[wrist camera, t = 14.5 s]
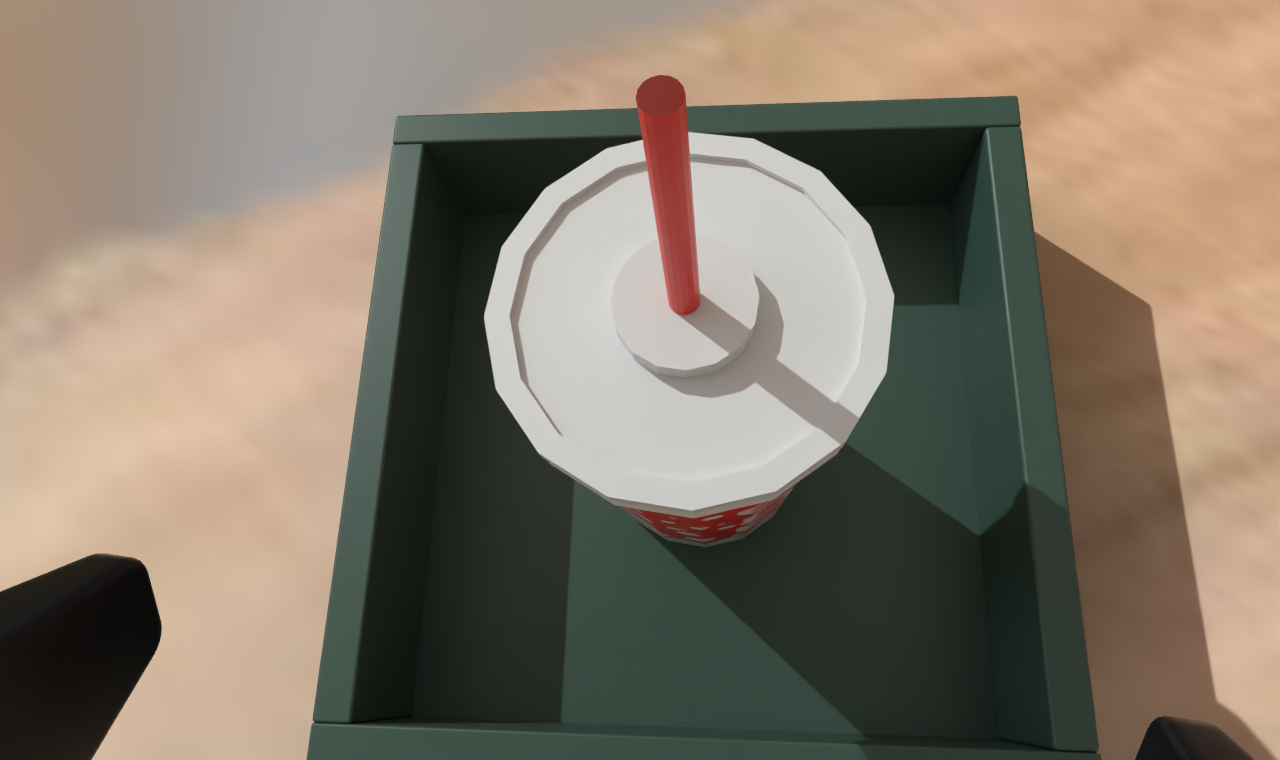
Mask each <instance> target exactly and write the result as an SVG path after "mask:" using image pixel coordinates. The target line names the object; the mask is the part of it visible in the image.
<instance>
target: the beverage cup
mask: <svg viewBox="0 0 1280 760" xmlns="http://www.w3.org/2000/svg"><path fill="white" fill-rule="evenodd" d="M636 101H637V108H638V114H639V120H640V126H641V133H642V139H643V140H640V141H636V142H632V143H627V144H623V145H619V146H615V147H611V148H607V149H605V150H604V151H602V152H600V153H599V154H597V155H596V156H594V157H593V158H591V159H590V160H588V161H587V162H585V163H583V164H582V165H580V166H579V167H577V168H576V169H574V170H573V171H571V172H570V173H568V174H566V175H565V176H563V177H562V178H560V179H559V180H557V181H556V182H554V183H553V184H551V185H549V186H548V187H546V188H545V189H544V190H543V192H542V193H541V194H540V196H539V197H538V198H537V200H536V201H535V202H534V204H533V205H532V207H531V208H530V209H529V211H528V212H527V213H526V215H525V216H524V217H523V219H522V220H521V221H520V223H519V224H518V225H517V227H516V228H515V229H514V231H513V232H512V233H511V235H510V236H509V238H508V239H507V240H506V242H505V243H504V244H503V246H502V247H501V251H500V255H499V259H498V263H497V267H496V271H495V275H494V279H493V283H492V286H491V290H490V294H489V298H488V302H487V306H486V310H485V314H484V321H485V327H486V333H487V339H488V345H489V351H490V357H491V364H492V370H493V376H494V382H495V388H496V390H497V392H498V393H499V395H500V396H501V398H502V399H503V401H504V402H505V404H506V405H507V407H508V408H509V410H510V411H511V413H512V414H513V416H514V417H515V419H516V420H517V422H518V423H519V425H520V426H521V428H522V429H523V431H524V432H525V434H526V435H527V437H528V438H529V440H530V441H531V443H532V444H533V446H534V447H535V449H536V450H537V452H538V453H539V454H540V455H541V457H542V458H544V459H545V460H547V461H548V462H549V463H550V464H551V465H552V466H554V467H555V468H557V469H559V470H560V471H562V472H563V473H565V474H566V475H568V476H570V477H571V478H573V479H574V480H576V481H577V482H579V483H581V484H582V485H584V486H585V487H587V488H589V489H590V490H592V491H593V492H595V493H596V494H598V495H600V496H601V497H603V498H604V499H606V500H607V501H609V502H611V503H612V504H614V505H616V506H621V507H622V508H623V509H624V510H625V511H626V512H627V513H629V514H630V515H631V516H632V517H633V518H634V519H635V520H636V521H638V522H639V523H641V524H642V525H644V526H645V527H647V528H649V529H650V530H652V531H653V532H655V533H657V534H658V535H660V536H661V537H663V538H664V539H666V540H668V541H672V542H677V543H683V544H689V545H695V546H701V547H709V546H713V545H718V544H722V543H727V542H731V541H735V540H740V539H743V538H744V537H746V536H747V535H749V534H750V533H751V532H753V531H754V530H756V529H757V528H758V527H760V526H761V525H762V524H764V523H765V522H767V521H768V520H769V519H771V518H772V517H773V516H774V515H775V513H776V512H777V510H778V509H779V508H780V506H781V505H782V503H783V502H784V500H785V499H786V498H787V496H788V495H789V493H790V492H791V490H792V489H793V488H794V486H795V485H796V483H798V482H799V481H800V480H802V479H803V478H804V477H806V476H807V475H809V474H810V473H811V472H813V471H814V470H816V469H817V468H818V467H820V466H821V465H823V464H824V463H825V462H827V461H828V460H830V459H831V458H832V457H834V456H835V455H837V453H838V452H839V450H840V448H842V447H843V446H844V444H845V442H846V441H847V439H848V437H849V436H850V434H851V432H852V430H853V429H854V427H855V425H856V424H857V422H858V420H859V419H860V417H861V415H862V414H863V412H864V410H865V409H866V407H867V405H868V403H869V402H870V400H871V398H872V397H873V395H874V393H875V392H876V390H877V388H878V387H879V385H880V383H881V382H882V380H883V378H884V376H885V374H886V372H887V363H888V353H889V343H890V334H891V324H892V314H893V305H894V293H893V290H892V287H891V285H890V282H889V279H888V276H887V273H886V270H885V267H884V264H883V261H882V258H881V255H880V252H879V250H878V247H877V244H876V241H875V238H874V235H873V232H872V229H871V226H870V225H869V224H868V223H867V221H866V220H865V219H864V218H863V217H862V216H861V215H860V214H859V213H858V212H857V211H856V209H855V208H854V207H853V206H852V205H851V204H850V203H849V202H848V201H847V200H846V199H845V197H844V196H843V195H842V194H841V193H840V192H839V191H838V190H837V189H836V188H835V186H834V185H833V184H832V183H831V182H830V181H829V180H828V179H827V178H826V177H825V176H824V174H823V173H822V172H821V171H819V170H817V169H815V168H813V167H811V166H809V165H807V164H805V163H803V162H801V161H799V160H796V159H794V158H792V157H790V156H788V155H786V154H784V153H782V152H780V151H778V150H776V149H774V148H772V147H770V146H768V145H766V144H763V143H761V142H759V141H757V140H755V139H752V138H742V137H732V136H722V135H713V134H703V133H693V132H688V124H687V110H686V97H685V91H684V87H683V85H682V84H681V83H680V82H679V81H678V80H677V79H675V78H673V77H671V76H664V75H658V76H654V77H650V78H649V79H647V80H646V81H644V82H643V83H642V84H641V86H640V87H639V88H638V90H637V95H636Z"/></svg>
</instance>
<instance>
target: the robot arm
mask: <svg viewBox="0 0 1280 760" xmlns="http://www.w3.org/2000/svg"><path fill="white" fill-rule="evenodd" d="M161 628H162V625H161V620H160V616H159V612H158V609H157V605H156V601H155V597H154V593H153V590H152V586H151V582H150V578H149V575H148V571H147V569H146V567H145V566H144V565H143V563H142V562H141V561H140V560H137V559H135V558H131V557H125V556H118V555H112V554H93V555H90V556H87V557H85V558H82V559H80V560H77V561H75V562H72V563H70V564H67V565H65V566H63V567H60V568H58V569H55V570H53V571H50V572H48V573H45V574H43V575H40V576H38V577H35V578H33V579H31V580H28V581H26V582H23V583H21V584H18V585H16V586H13V587H11V588H8V589H6V590H3V591H1V592H0V760H92V758H93V756H94V755H95V753H96V751H97V750H98V748H99V746H100V745H101V743H102V741H103V740H104V738H105V736H106V734H107V733H108V731H109V729H110V728H111V726H112V724H113V723H114V721H115V719H116V718H117V716H118V714H119V713H120V711H121V709H122V708H123V706H124V704H125V702H126V701H127V699H128V697H129V696H130V694H131V692H132V691H133V689H134V687H135V686H136V684H137V682H138V681H139V679H140V677H141V676H142V674H143V672H144V671H145V669H146V667H147V665H148V664H149V662H150V660H151V659H152V657H153V655H154V654H155V652H156V650H157V647H158V644H159V642H160V637H161ZM1135 760H1255V759H1253V758H1252V757H1251V756H1250V755H1249V754H1248V753H1247V752H1246V751H1244V750H1243V749H1242V748H1241V747H1240V746H1239V745H1238V744H1237V743H1235V742H1234V741H1233V740H1232V739H1231V738H1230V737H1229V736H1228V735H1226V734H1225V733H1224V732H1223V731H1221V730H1220V729H1219V728H1218V727H1216V726H1214V725H1212V724H1209V723H1206V722H1201V721H1194V720H1188V719H1181V718H1175V717H1168V716H1164V717H1158V718H1156V719H1155V720H1154V721H1153V722H1152V723H1151V724H1150V726H1149V728H1148V730H1147V732H1146V735H1145V737H1144V739H1143V742H1142V744H1141V747H1140V749H1139V752H1138V754H1137V756H1136V759H1135Z"/></svg>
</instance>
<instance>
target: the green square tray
mask: <svg viewBox="0 0 1280 760" xmlns="http://www.w3.org/2000/svg"><path fill="white" fill-rule="evenodd" d="M686 110H687V124H688V132H693V133H703V134H713V135H722V136H732V137H742V138H752V139H755V140H757V141H759V142H761V143H763V144H766V145H768V146H770V147H772V148H774V149H776V150H778V151H780V152H782V153H784V154H786V155H788V156H790V157H792V158H794V159H796V160H799V161H801V162H803V163H805V164H807V165H809V166H811V167H813V168H815V169H817V170H819V171H821V172H822V173H823V174H824V176H825V177H826V178H827V179H828V180H829V181H830V182H831V183H832V184H833V185H834V186H835V188H836V189H837V190H838V191H839V192H840V193H841V194H842V195H843V196H844V197H845V199H846V200H847V201H848V202H849V203H850V204H851V205H852V206H853V207H854V208H855V209H856V211H857V212H858V213H859V214H860V215H861V216H862V217H863V218H864V219H865V220H866V221H867V223H868V224H869V225H870V226H871V229H872V232H873V235H874V238H875V241H876V244H877V247H878V250H879V252H880V255H881V258H882V261H883V264H884V267H885V270H886V273H887V276H888V279H889V282H890V285H891V287H892V290H893V293H894V305H893V314H892V324H891V334H890V343H889V353H888V363H887V372H886V374H885V376H884V378H883V380H882V382H881V383H880V385H879V387H878V388H877V390H876V392H875V393H874V395H873V397H872V398H871V400H870V402H869V403H868V405H867V407H866V409H865V410H864V412H863V414H862V415H861V417H860V419H859V420H858V422H857V424H856V425H855V427H854V429H853V430H852V432H851V434H850V436H849V437H848V439H847V441H846V442H845V444H844V446H843V447H842V448H840V450H839V452H838V453H837V455H835V456H834V457H832V458H831V459H830V460H828V461H827V462H825V463H824V464H823V465H821V466H820V467H818V468H817V469H816V470H814V471H813V472H811V473H810V474H809V475H807V476H806V477H804V478H803V479H802V480H800V481H799V482H798V483H796V485H795V486H794V488H793V489H792V490H791V492H790V493H789V495H788V496H787V498H786V499H785V500H784V502H783V503H782V505H781V506H780V508H779V509H778V510H777V512H776V513H775V515H774V516H773V517H772V518H771V519H769V520H768V521H767V522H765V523H764V524H762V525H761V526H760V527H758V528H757V529H756V530H754V531H753V532H751V533H750V534H749V535H747V536H746V537H744V538H743V539H740V540H735V541H731V542H727V543H722V544H718V545H713V546H709V547H701V546H695V545H689V544H683V543H677V542H672V541H668V540H666V539H664V538H663V537H661V536H660V535H658V534H657V533H655V532H653V531H652V530H650V529H649V528H647V527H645V526H644V525H642V524H641V523H639V522H638V521H636V520H635V519H634V518H633V517H632V516H631V515H630V514H629V513H627V512H626V511H625V510H624V509H623V508H622V507H621V506H616V505H614V504H612V503H611V502H609V501H607V500H606V499H604V498H603V497H601V496H600V495H598V494H596V493H595V492H593V491H592V490H590V489H589V488H587V487H585V486H584V485H582V484H581V483H579V482H577V481H576V480H574V479H573V478H571V477H570V476H568V475H566V474H565V473H563V472H562V471H560V470H559V469H557V468H555V467H554V466H552V465H551V464H550V463H549V462H548V461H547V460H545V459H544V458H542V457H541V455H540V454H539V453H538V452H537V450H536V449H535V447H534V446H533V444H532V443H531V441H530V440H529V438H528V437H527V435H526V434H525V432H524V431H523V429H522V428H521V426H520V425H519V423H518V422H517V420H516V419H515V417H514V416H513V414H512V413H511V411H510V410H509V408H508V407H507V405H506V404H505V402H504V401H503V399H502V398H501V396H500V395H499V393H498V392H497V390H496V388H495V382H494V376H493V370H492V364H491V357H490V351H489V345H488V339H487V333H486V327H485V321H484V314H485V310H486V306H487V302H488V298H489V294H490V290H491V286H492V283H493V279H494V275H495V271H496V267H497V263H498V259H499V255H500V251H501V247H502V246H503V244H504V243H505V242H506V240H507V239H508V238H509V236H510V235H511V233H512V232H513V231H514V229H515V228H516V227H517V225H518V224H519V223H520V221H521V220H522V219H523V217H524V216H525V215H526V213H527V212H528V211H529V209H530V208H531V207H532V205H533V204H534V202H535V201H536V200H537V198H538V197H539V196H540V194H541V193H542V192H543V190H544V189H545V188H546V187H548V186H549V185H551V184H553V183H554V182H556V181H557V180H559V179H560V178H562V177H563V176H565V175H566V174H568V173H570V172H571V171H573V170H574V169H576V168H577V167H579V166H580V165H582V164H583V163H585V162H587V161H588V160H590V159H591V158H593V157H594V156H596V155H597V154H599V153H600V152H602V151H604V150H605V149H607V148H611V147H615V146H619V145H623V144H627V143H632V142H636V141H640V140H643V139H642V133H641V126H640V120H639V114H638V108H630V109H600V110H569V111H538V112H508V113H477V114H446V115H415V116H397V118H396V124H395V131H394V138H393V144H394V145H393V146H392V153H391V160H390V167H389V175H388V182H387V189H386V196H385V203H384V210H383V218H382V225H381V232H380V239H379V246H378V253H377V261H376V268H375V275H374V282H373V289H372V296H371V304H370V311H369V318H368V325H367V332H366V340H365V347H364V354H363V361H362V368H361V375H360V383H359V390H358V397H357V404H356V411H355V418H354V426H353V433H352V440H351V447H350V454H349V461H348V469H347V476H346V483H345V490H344V497H343V505H342V512H341V519H340V526H339V533H338V540H337V548H336V555H335V562H334V569H333V576H332V583H331V591H330V598H329V605H328V612H327V619H326V626H325V634H324V641H323V648H322V655H321V662H320V670H319V677H318V684H317V691H316V698H315V705H314V713H313V721H314V722H315V723H313V724H312V726H311V732H310V739H309V747H308V754H307V760H1101V756H1100V754H1099V753H1096V752H1097V751H1098V749H1099V745H1098V737H1097V729H1096V721H1095V713H1094V705H1093V697H1092V689H1091V681H1090V673H1089V665H1088V657H1087V649H1086V641H1085V633H1084V625H1083V617H1082V609H1081V602H1080V594H1079V586H1078V578H1077V570H1076V562H1075V554H1074V546H1073V538H1072V530H1071V522H1070V514H1069V506H1068V498H1067V490H1066V482H1065V474H1064V466H1063V458H1062V450H1061V442H1060V434H1059V427H1058V419H1057V411H1056V403H1055V395H1054V387H1053V379H1052V371H1051V363H1050V355H1049V347H1048V339H1047V331H1046V323H1045V315H1044V307H1043V299H1042V291H1041V283H1040V275H1039V267H1038V259H1037V252H1036V244H1035V236H1034V228H1033V220H1032V212H1031V204H1030V196H1029V188H1028V180H1027V172H1026V164H1025V156H1024V148H1023V140H1022V132H1021V128H1020V125H1021V121H1020V113H1019V105H1018V98H1017V96H999V97H968V98H937V99H906V100H876V101H845V102H814V103H784V104H753V105H722V106H692V107H686Z"/></svg>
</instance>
